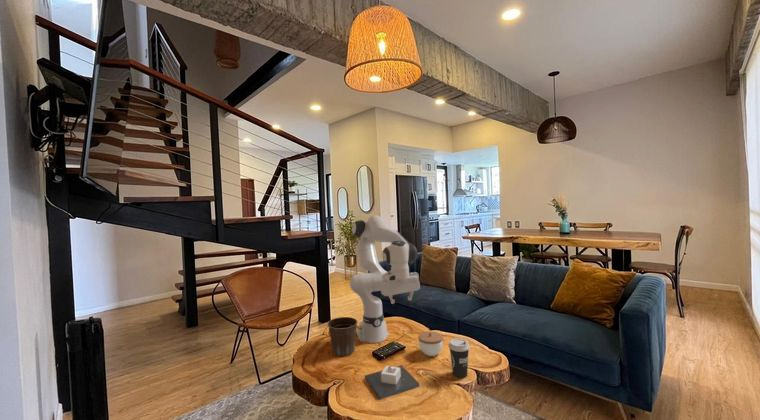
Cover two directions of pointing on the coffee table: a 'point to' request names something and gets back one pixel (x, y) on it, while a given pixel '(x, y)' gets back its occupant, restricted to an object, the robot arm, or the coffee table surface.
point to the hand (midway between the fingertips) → (401, 301)
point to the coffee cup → (459, 357)
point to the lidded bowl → (430, 343)
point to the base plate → (388, 389)
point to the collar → (391, 375)
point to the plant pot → (342, 335)
